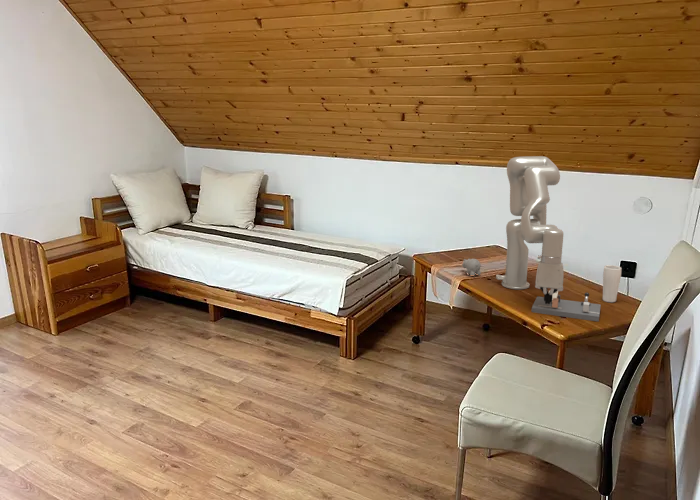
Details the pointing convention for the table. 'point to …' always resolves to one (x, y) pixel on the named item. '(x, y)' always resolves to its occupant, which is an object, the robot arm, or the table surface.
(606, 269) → the drinking glass
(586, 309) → the slide paddle
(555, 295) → the rocker switch
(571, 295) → the table surface
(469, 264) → the toy rhinoceros
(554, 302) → the slide paddle
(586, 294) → the toggle lever
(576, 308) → the switch panel
